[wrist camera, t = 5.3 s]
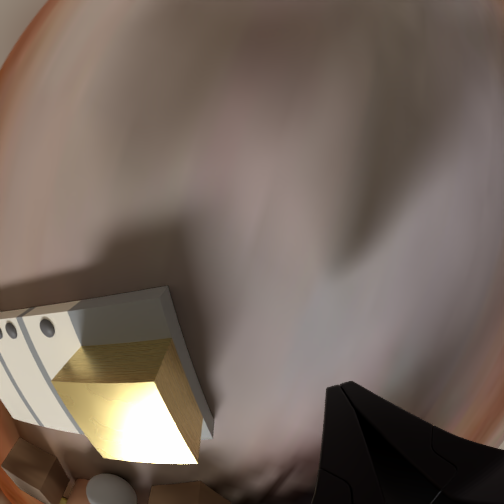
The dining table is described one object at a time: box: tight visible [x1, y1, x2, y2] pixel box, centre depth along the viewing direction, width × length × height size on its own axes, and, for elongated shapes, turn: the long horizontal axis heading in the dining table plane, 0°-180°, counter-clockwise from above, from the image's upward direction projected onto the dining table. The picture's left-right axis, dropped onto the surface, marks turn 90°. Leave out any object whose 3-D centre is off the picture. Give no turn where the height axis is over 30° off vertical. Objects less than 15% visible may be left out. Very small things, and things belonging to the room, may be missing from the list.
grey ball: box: [86, 474, 137, 504], centre depth 11 cm, size 4×4×4 cm
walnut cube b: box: [1, 438, 69, 504], centre depth 11 cm, size 4×4×4 cm
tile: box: [51, 338, 203, 464], centre depth 8 cm, size 4×4×2 cm
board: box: [0, 286, 214, 440], centre depth 10 cm, size 14×7×1 cm, turn 100°
